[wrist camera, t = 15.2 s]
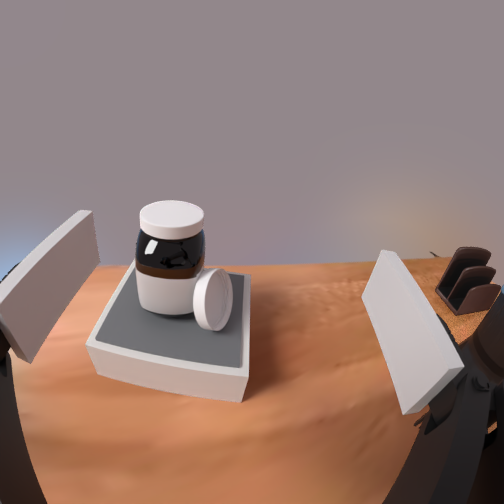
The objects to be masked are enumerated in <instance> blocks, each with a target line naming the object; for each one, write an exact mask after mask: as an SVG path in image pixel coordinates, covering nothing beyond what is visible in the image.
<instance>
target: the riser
mask: <svg viewBox="0 0 504 504" xmlns="http://www.w3.org/2000/svg"><path fill="white" fill-rule="evenodd" d="M206 269H207V268H204V270H206ZM226 272H227V271H226ZM227 273H228V275H229V277H230V280H231V283H232V290H233V302H232V309H231V313H230V317H229V319H228V322H227V323H226V325H225V326H224V328H223V329H221V330H219V331H213V330H206V329H203V328H201V327H200V325H199V324H198V322H197V320H196V318H195V314H194V313H192V314H190V315H187V316H182V317H163V316H159V315H155V314H152V313H150V312H148V311H146V310H145V309H143V307H142V306H141V304H140V301H139V296H138V288H137V279H136V268H135V259H134V261H133V263H132V264H131V266H130V267H129V269H128V270H127V272H126V274H125V275H124V277H123V278H122V280H121V282H120V283H119V285H118V287H117V288H116V290H115V292H114V293H113V295H112V297H111V298H110V300H109V302H108V304H107V305H106V307H105V309H104V311H103V312H102V314H101V316H100V318H99V320H98V321H97V323H96V325H95V327H94V329H93V331H92V333H91V334H90V336H89V338H88V340H87V342H86V344H85V346H86V348H87V350H88V353H89V355H90V358H91V360H92V362H93V364H94V367H95V369H96V371H97V373H98V374H99V375H102V376H105V377H109V378H112V379H115V380H119V381H123V382H126V383H130V384H134V385H138V386H142V387H147V388H151V389H156V390H160V391H165V392H170V393H175V394H181V395H187V396H193V397H199V398H206V399H213V400H221V401H230V402H240V403H241V401H242V398H243V395H244V391H245V388H246V385H247V381H248V378H249V339H250V290H251V275H249V274H242V273H235V272H227Z"/></svg>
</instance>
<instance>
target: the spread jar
mask: <svg viewBox="0 0 504 504" xmlns="http://www.w3.org/2000/svg"><path fill="white" fill-rule="evenodd" d="M203 224H204V212H203V210H202V209H201V208H200V207H198V206H196V205H194V204H191V203H188V202H183V201H172V200H171V201H170V200H169V201H159V202H154V203H151V204H149V205H147V206H145V207H144V208H143V209H142V210H141V211H140V227H141V229H140V232H139V235H138V238H137V243H136V254H135V268H136V279H137V288H138V296H139V301H140V304H141V306H142V307H143V309H145V310H146V311H148V312H150V313H152V314H155V315H159V316H163V317H182V316H187V315H190V314H192V313H194V314H195V318H196V320H197V322H198V324H199V325H200V327H201V328H203V329H206V330H213V331H219V330H221V329H223V328H224V326H225V325H226V323H227V322H228V319H229V317H230V313H231V309H232V302H233V290H232V283H231V280H230V277H229V275H228V273H227V272H226V271H225V270H224V269H220V268H208V269H206V270H204V258H205V235H204V231H203Z"/></svg>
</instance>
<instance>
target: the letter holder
mask: <svg viewBox="0 0 504 504" xmlns="http://www.w3.org/2000/svg"><path fill="white" fill-rule="evenodd" d="M490 257H491V253H490V252H489V251H488V250H486V249H482V248H478V247H460V248H458V249H457V250H456V252H455V254H454V256H453V258H452V260H451V261H450V263H449V265H448V267H447V269H446V271H445V273H444V275H443V276H442V278H441V280H440V282H439V284H438V285H437V287H436V289H435V291H436V293H437V294H438V295H439V296H440V297H441V299H442V300H443V301H444V302H445V303H446V305H447V306H448V307H449V308H450V310H451V311H452V312H453V313H454V315H462V314H467V313H473V312H478V311H483V310H488V309H490V307H491V306H492V304H493V302H494V301H495V299H496V297H497V295H498V293H499V292H500V290H501V286H500V285H497V284H490V282H491V280H492V279H493V277H494V275H495V273H496V270H495V269H493V268H491V267H488V266H486V264H487V262H488V260H489V259H490Z"/></svg>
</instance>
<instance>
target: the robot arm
mask: <svg viewBox="0 0 504 504" xmlns="http://www.w3.org/2000/svg"><path fill="white" fill-rule="evenodd" d="M99 263H100V258H99V253H98V247H97V241H96V234H95V227H94V219H93V212H92V211H86V210H79V211H78V212H77V213H76V214H74V215H73V216H72V217H70V218H69V219H68V220H67V221H66V222H64V223H63V224H62V225H61V226H60V227H58V229H56V230H55V231H54V232H53V233H51V234H50V235H49V236H48V237H47V238H46V239H45V240H44V241H43V242H42V243H40V244H39V245H38V246H37V247H36V248H35V249H34V250H33V251H32V252H31V253H30V254H29V255H28V256H27V257H26V258H25V259H24V260H23V261H21V262H20V263H18V264H17V265H15V266H14V267H13V268H12V269H11V270H10V271H9V272H8V275H5V277H4V278H3V279H2V281H0V504H47V501H46V499H45V497H44V495H43V492H42V490H41V487H40V485H39V482H38V480H37V477H36V474H35V472H34V469H33V466H32V463H31V460H30V457H29V454H28V450H27V447H26V443H25V440H24V436H23V432H22V428H21V423H20V419H19V414H18V409H17V403H16V397H15V391H14V384H13V375H12V365H11V358H10V355H9V353H8V351H9V349H10V347H11V348H12V349H13V351H14V352H15V354H16V356H17V357H18V358H20V359H22V360H24V361H26V362H28V363H30V364H31V363H32V361H33V359H34V357H35V356H36V354H37V352H38V351H39V349H40V347H41V346H42V344H43V342H44V341H45V339H46V338H47V336H48V334H49V333H50V331H51V330H52V328H53V327H54V325H55V323H56V322H57V320H58V319H59V317H60V316H61V314H62V313H63V312H64V310H65V309H66V307H67V306H68V304H69V303H70V301H71V300H72V299H73V297H74V296H75V294H76V293H77V292H78V290H79V289H80V288H81V286H82V285H83V283H84V282H85V281H86V279H87V278H88V277H89V276H90V274H91V273H92V272H93V270H94V269H95V268H96V266H97V265H98V264H99ZM362 300H363V302H364V304H365V307H366V309H367V312H368V314H369V317H370V319H371V322H372V325H373V327H374V330H375V332H376V335H377V338H378V341H379V343H380V346H381V349H382V352H383V354H384V357H385V360H386V363H387V366H388V369H389V372H390V375H391V378H392V381H393V384H394V387H395V390H396V394H397V397H398V400H399V404H400V407H401V410H402V414H403V415H406V414H412V413H417V412H419V411H420V410H422V409H423V408H424V407H425V406H426V405H427V404H429V407H430V410H429V411H428V412H427V413H426V414H425V415H423V416H422V417H421V418H420V419H419V420H417V421H416V422H415V424H414V426H417V425H418V424H419V423H421V422H422V421H423V422H422V425H421V426H420V427H419V429H420V430H419V433H418V435H417V437H416V440H415V442H414V444H413V447H412V449H411V451H410V453H409V456H408V458H407V460H406V462H405V464H404V466H403V468H402V470H401V472H400V474H399V476H398V477H397V479H396V481H395V483H394V485H393V487H392V488H391V490H390V492H389V494H388V495H387V497H386V499H385V500H384V502H383V503H382V504H504V285H503V286H502V288H501V292H500V294H499V296H498V297H497V299H496V301H495V302H494V304H493V305H492V307H491V308H490V310H489V311H488V313H487V314H486V316H485V317H484V319H483V320H482V322H481V323H480V324H479V326H478V327H477V329H476V330H475V332H474V333H473V334H472V335H471V336H470V337H468V338H467V339H465V340H464V341H463V342H461V343H460V344H457V342H455V338H454V337H453V335H452V334H451V331H450V330H449V328H448V326H447V324H446V323H445V322H444V321H443V319H442V318H441V317H440V316H439V315H438V314H436V313H435V312H434V310H433V308H432V307H431V305H430V303H429V302H428V300H427V299H426V297H425V295H424V294H423V292H422V291H421V289H420V288H419V286H418V284H417V283H416V281H415V280H414V278H413V277H412V275H411V274H410V273H409V271H408V270H407V268H406V267H405V265H404V264H403V262H402V261H401V260H400V258H399V257H398V255H397V254H396V253H395V252H392V251H386V250H381V253H380V255H379V258H378V260H377V262H376V265H375V267H374V270H373V272H372V274H371V277H370V279H369V281H368V283H367V286H366V288H365V290H364V292H363V294H362ZM496 421H497V428H496V429H495V430H493V431H492V432H491V433H489V434H488V428H489V427H490V426H491V425H493V424H494V423H495V422H496Z"/></svg>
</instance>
